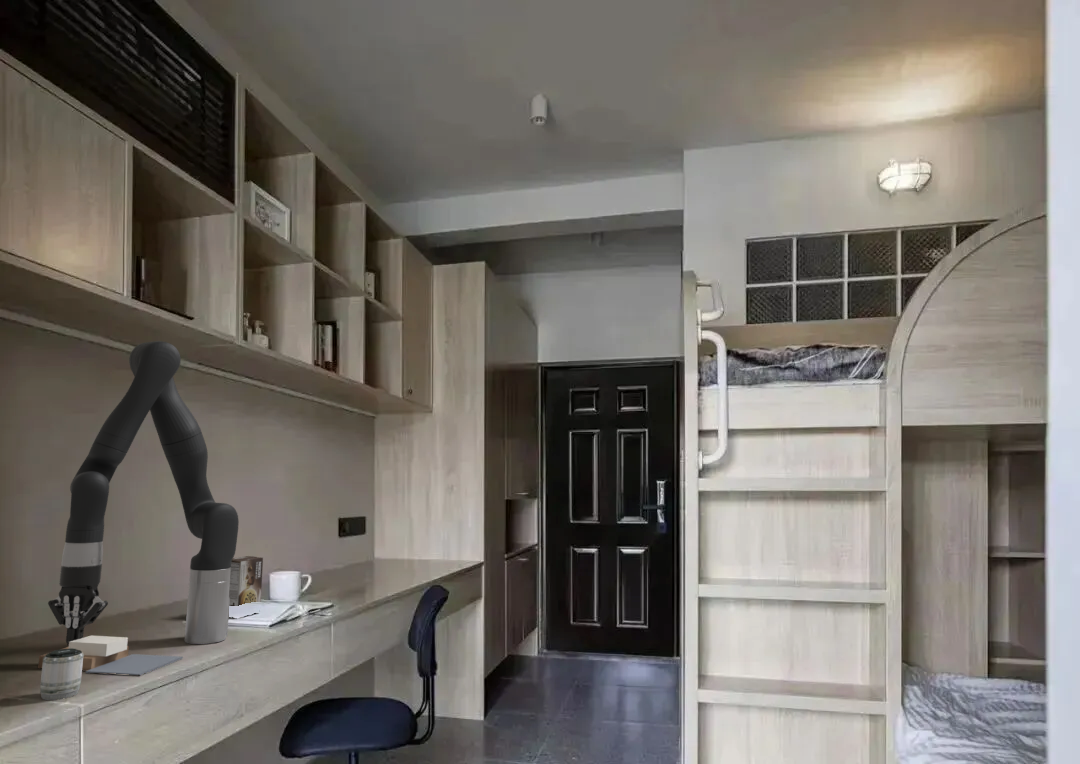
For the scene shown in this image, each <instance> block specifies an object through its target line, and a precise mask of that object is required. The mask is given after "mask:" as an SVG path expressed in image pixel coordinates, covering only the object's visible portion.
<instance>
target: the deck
mask: <svg viewBox="0 0 1080 764" xmlns="http://www.w3.org/2000/svg"><path fill="white" fill-rule="evenodd" d="M68 648H69V646H67V647H64V648H61V649H68ZM61 649H59V650H61ZM129 649H130V646H129V645H127V650H124V651H121V652H118V653H115V654H112V655H109V656H91V655H84V656H83V666H82V670H90V669H93V668H96V667H99V666H101V665H104V664H107V663H110V662H112V661H115V660H118V659H121V658H123V657H126V656H129V651H130V650H129ZM51 652H52V651H50V652H47V653H44V654H42V655H39V657H38V664H37V668H38V669H40V668H42V664H43V658H44V657H45V655H47V654H48V653H51Z"/></svg>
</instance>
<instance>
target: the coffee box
mask: <svg viewBox="0 0 1080 764" xmlns="http://www.w3.org/2000/svg"><path fill="white" fill-rule="evenodd" d="M263 565H264V557H258V556H253V555H250V556H249V555H248V556H240V557H239V556H238V557H233V559H232V562H231V571H230V587H229V598H230V604H229V606H239V605H242V604H245V603H251V602H261V603H262V589H263V588H262V586H263Z"/></svg>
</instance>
